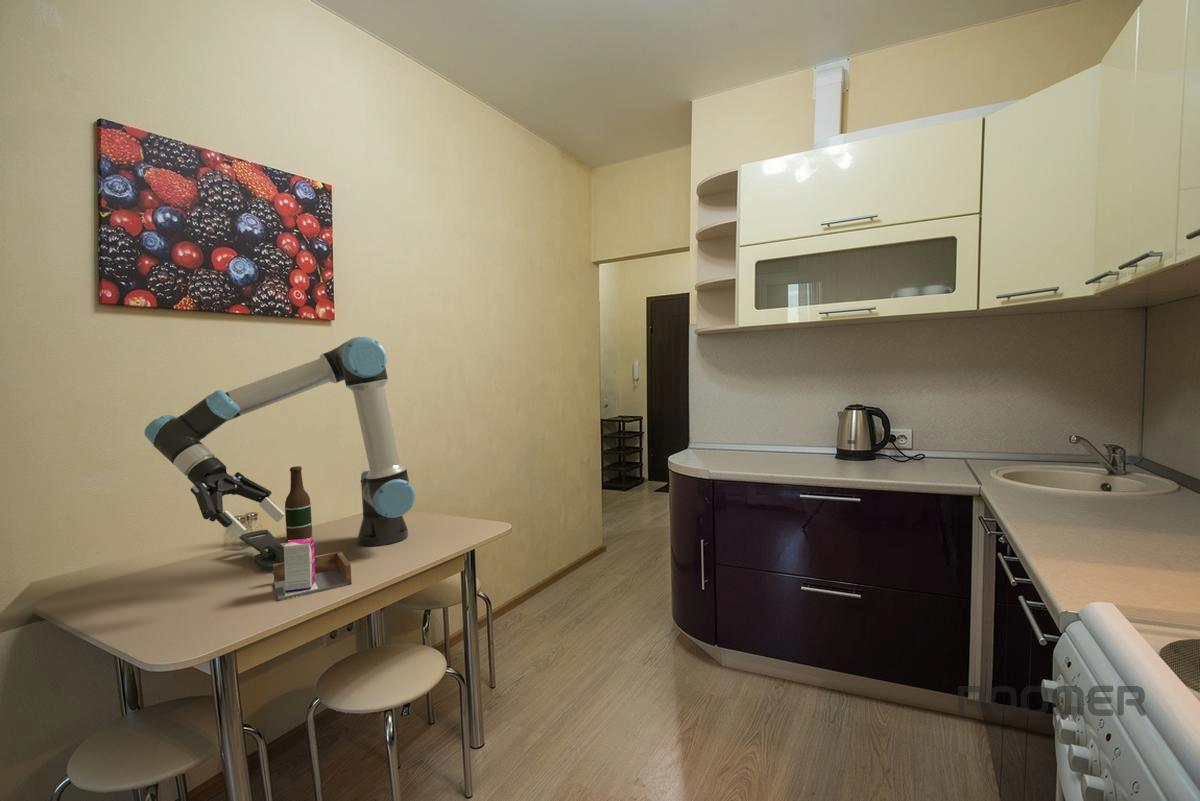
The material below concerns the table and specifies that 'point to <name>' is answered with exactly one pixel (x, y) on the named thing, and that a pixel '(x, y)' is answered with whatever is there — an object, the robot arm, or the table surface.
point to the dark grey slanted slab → (262, 543)
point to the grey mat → (321, 583)
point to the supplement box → (299, 565)
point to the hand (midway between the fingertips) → (262, 525)
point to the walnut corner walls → (321, 566)
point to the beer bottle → (298, 508)
